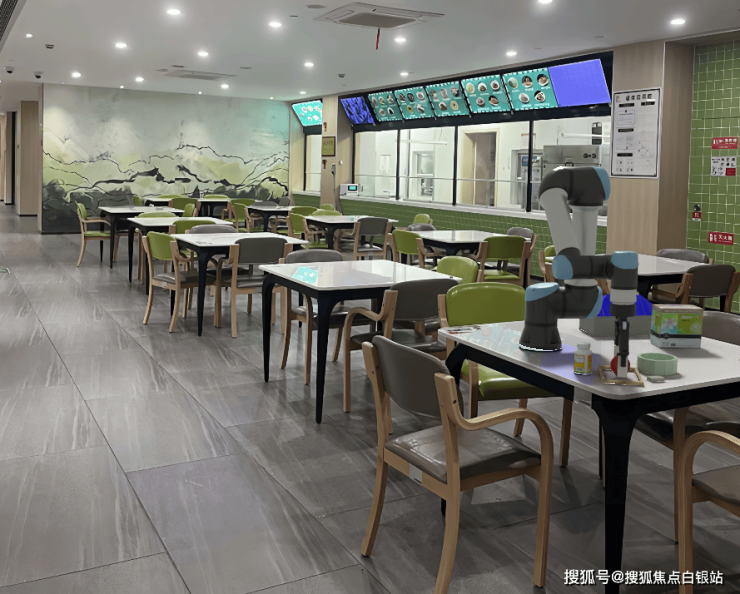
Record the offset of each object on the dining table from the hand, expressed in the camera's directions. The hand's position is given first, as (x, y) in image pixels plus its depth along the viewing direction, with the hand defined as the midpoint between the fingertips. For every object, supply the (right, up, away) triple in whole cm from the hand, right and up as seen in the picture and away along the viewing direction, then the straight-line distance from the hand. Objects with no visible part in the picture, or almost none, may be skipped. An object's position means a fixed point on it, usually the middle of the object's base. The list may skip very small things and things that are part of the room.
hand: (619, 371), depth 221 cm
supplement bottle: (-10, -1, +5) cm, 11 cm away
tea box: (+36, +5, +45) cm, 57 cm away
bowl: (+14, 0, +8) cm, 16 cm away
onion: (0, -2, 0) cm, 2 cm away
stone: (+9, -3, -4) cm, 10 cm away
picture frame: (0, -2, 0) cm, 2 cm away
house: (+23, +8, +71) cm, 75 cm away
